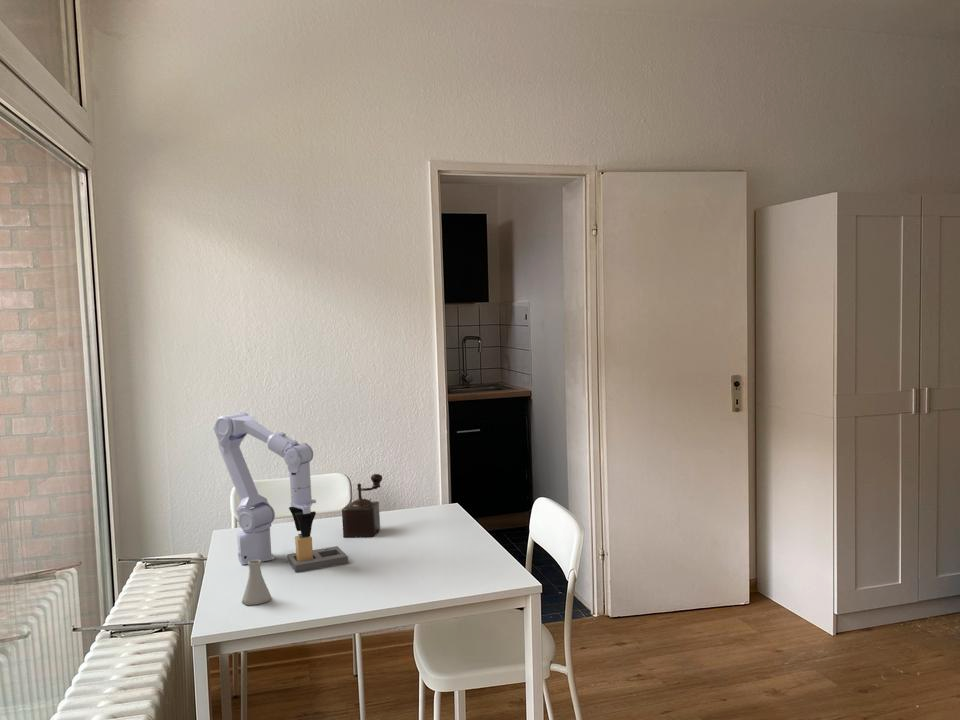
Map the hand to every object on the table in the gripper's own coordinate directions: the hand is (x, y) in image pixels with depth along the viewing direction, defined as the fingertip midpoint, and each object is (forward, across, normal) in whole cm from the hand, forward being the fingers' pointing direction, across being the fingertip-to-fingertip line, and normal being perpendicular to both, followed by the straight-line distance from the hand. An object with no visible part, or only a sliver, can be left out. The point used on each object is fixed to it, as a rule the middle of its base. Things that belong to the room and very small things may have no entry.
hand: (303, 533), depth 217 cm
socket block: (+9, 0, -4) cm, 10 cm away
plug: (+9, 0, 0) cm, 9 cm away
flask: (+9, -23, +17) cm, 30 cm away
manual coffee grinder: (+9, +25, -25) cm, 37 cm away
